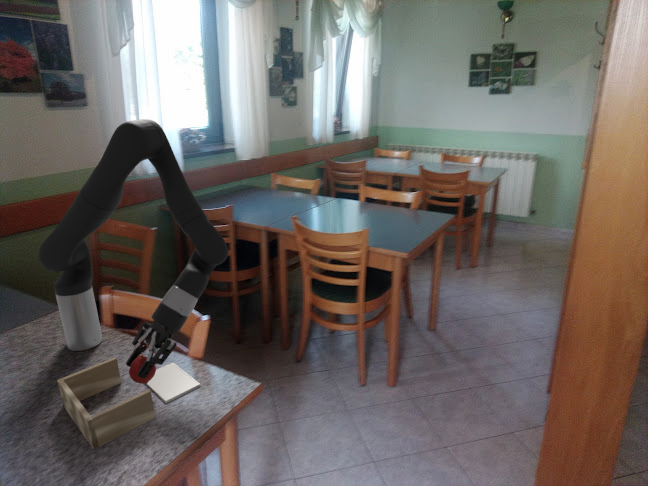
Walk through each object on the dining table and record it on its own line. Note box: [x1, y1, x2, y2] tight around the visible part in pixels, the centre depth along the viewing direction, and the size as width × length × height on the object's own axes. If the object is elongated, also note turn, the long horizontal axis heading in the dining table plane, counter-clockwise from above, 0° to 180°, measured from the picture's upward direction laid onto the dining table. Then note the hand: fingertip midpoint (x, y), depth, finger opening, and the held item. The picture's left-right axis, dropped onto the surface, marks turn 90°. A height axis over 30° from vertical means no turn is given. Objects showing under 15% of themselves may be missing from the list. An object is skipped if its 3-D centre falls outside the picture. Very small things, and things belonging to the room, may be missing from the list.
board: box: [145, 362, 201, 404], centre depth 110 cm, size 14×9×1 cm, turn 45°
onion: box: [128, 353, 157, 385], centre depth 104 cm, size 6×6×8 cm
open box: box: [56, 356, 156, 450], centre depth 99 cm, size 20×13×7 cm, turn 45°
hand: (135, 371), depth 103 cm, fingers closed on onion, 5 cm apart
